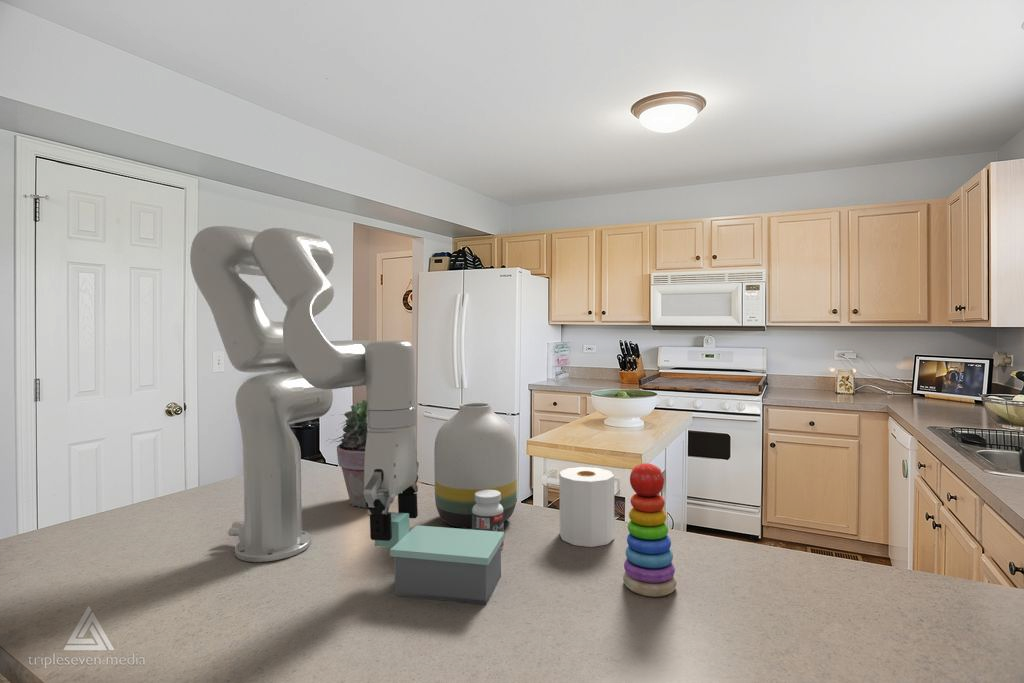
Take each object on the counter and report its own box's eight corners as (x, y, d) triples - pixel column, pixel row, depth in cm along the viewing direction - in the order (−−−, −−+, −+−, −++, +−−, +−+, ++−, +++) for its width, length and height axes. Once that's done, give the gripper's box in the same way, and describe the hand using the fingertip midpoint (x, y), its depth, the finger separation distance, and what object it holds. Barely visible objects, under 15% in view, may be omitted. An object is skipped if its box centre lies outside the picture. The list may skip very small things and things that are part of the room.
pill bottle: (499, 555, 93) (499, 499, 93) (468, 553, 94) (467, 497, 94) (506, 542, 99) (506, 489, 99) (476, 540, 100) (476, 487, 100)
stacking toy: (677, 578, 84) (677, 460, 84) (675, 603, 77) (675, 473, 76) (626, 571, 87) (626, 456, 86) (619, 594, 79) (619, 468, 79)
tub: (395, 595, 80) (394, 555, 79) (418, 568, 88) (418, 532, 88) (486, 604, 77) (485, 563, 76) (501, 576, 85) (500, 539, 85)
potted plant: (327, 493, 130) (326, 390, 129) (409, 487, 135) (408, 388, 134) (319, 518, 112) (317, 400, 112) (413, 510, 117) (412, 396, 117)
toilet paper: (608, 550, 95) (608, 483, 95) (552, 542, 99) (552, 477, 99) (618, 530, 105) (618, 469, 104) (567, 523, 108) (567, 464, 108)
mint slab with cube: (365, 553, 80) (365, 527, 80) (394, 529, 90) (394, 505, 90) (488, 565, 76) (488, 537, 76) (504, 538, 86) (504, 513, 85)
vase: (534, 521, 110) (533, 405, 109) (466, 543, 99) (465, 413, 98) (484, 502, 123) (483, 397, 122) (419, 519, 112) (418, 404, 111)
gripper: (393, 411, 93) (396, 509, 93) (341, 428, 76) (345, 548, 76) (434, 411, 92) (437, 511, 92) (389, 429, 75) (393, 551, 75)
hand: (395, 527), depth 84 cm, fingers open, 9 cm apart
